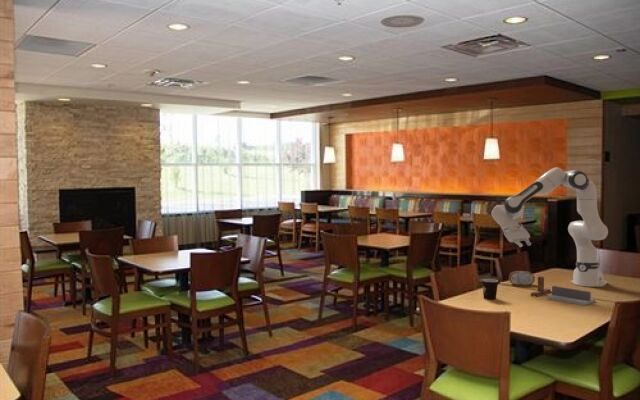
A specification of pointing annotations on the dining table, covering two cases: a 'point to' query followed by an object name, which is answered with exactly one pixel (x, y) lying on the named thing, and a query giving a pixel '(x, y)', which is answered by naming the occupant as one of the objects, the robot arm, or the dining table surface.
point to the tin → (521, 278)
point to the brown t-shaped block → (540, 288)
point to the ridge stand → (571, 295)
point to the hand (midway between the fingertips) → (525, 245)
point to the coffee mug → (489, 288)
